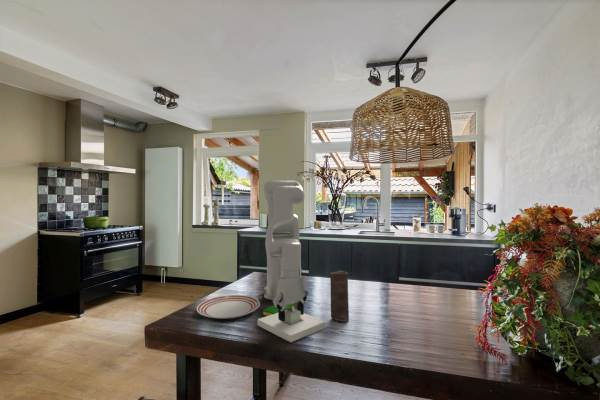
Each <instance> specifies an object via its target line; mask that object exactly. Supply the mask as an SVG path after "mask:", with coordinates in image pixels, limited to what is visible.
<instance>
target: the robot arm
mask: <svg viewBox="0 0 600 400" xmlns="http://www.w3.org/2000/svg"><path fill="white" fill-rule="evenodd" d="M263 193H264V196H265V197H264V198H265V200H266V203H267V215H268V216H267V223H268V226H267V229H266V234H265V240H264V242H265V245H264V246H265V252H266V286H264V290H266V291H265V293H264V295H263V297H264V299H267V300H270V301H272V303H273V305H275V307H276V308H277V309H278V319H279V320H281V321H283V322H284V321H285V311H284V308H285V307H286V305H289V304H295V303H297V302H298V303H297V304H296V310H299V311H301V315H303V314H304V313H305V309H304V306H305V304H306V300H307V296H308V294H309V291H307V290H305V289H304V282H303V281H304V280H303V276H302V274H301V273H302V272H303V269H302V265H301V264H302V262H301V261H302V260H301V257H302V253H301V252H302V244H301V242H300V219H299V217H298V215H297V214H295V213H294V207H293V205H301V204H303V203H304V201H305V190H304V188H303V186H302V185H301V183H300V182H298V181H297V180H291V179H290V180H286V179H285V180H284V179H283V180H282V179H276V180H275V179H272V180H267V181H265V182H264V185H263ZM274 233H289V234H274ZM278 303H279V304H278ZM282 304H283V305H282ZM281 306H282V307H281Z"/></svg>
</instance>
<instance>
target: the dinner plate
mask: <svg viewBox="0 0 600 400" xmlns="http://www.w3.org/2000/svg"><path fill="white" fill-rule="evenodd" d="M260 305H261V302H260V300H259V299H257V298H256V297H253V296H251V295H250V296H249V295H243V294H228V295H227V294H226V295H220V296H215V297H212V298H208V299H206V300H204V301H202V302H201V303H199V304H198V305H197V307H196V312H197V313H198V314H199V315H201V316H204V317H205V318H206V317H207V318H210V319H217V320H218V319H219V320H231V319H236V318H240V317H243V316H244V317H245V316H247V315H249V314H251V313H253V312H255V311H256V310H257V309H258V308H259V307H260Z"/></svg>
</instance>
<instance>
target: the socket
mask: <svg viewBox="0 0 600 400" xmlns="http://www.w3.org/2000/svg"><path fill="white" fill-rule="evenodd" d="M257 326H258V327H260V328H262V329H264V330H266V331H268V332H269V333H272V334H273V335H275V336H277V337H279V338H281V339H283V340H285V341H287V342H288V343H293V342H295V341H297V340H300V339H302V338H304V337H307V336H309V335H312V334H314V333H317V332H318V331H322V330H323V329H326V328H327V327H326V326H327V321H325V320H323V319H320V318H317V317H315V316H312V315H311V314H308V313H305V312H304V314H303V315H301V322H299V323H296V324H293V325H291V326H290V325H288V324H286V323H284V322H283V321H281V320H279V319H278V313H276V314H272V315H269V316H266V315H265V316H263V317H260V318H257Z"/></svg>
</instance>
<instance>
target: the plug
mask: <svg viewBox="0 0 600 400" xmlns="http://www.w3.org/2000/svg"><path fill="white" fill-rule="evenodd" d="M286 309H287V310H284V311H285V321H284V323H286V324H288V325H290V326H291V325H293V324H296V323H299V322H301V311H299V310H297V308H294V309H293V308H291V307H288V306H286Z"/></svg>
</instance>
